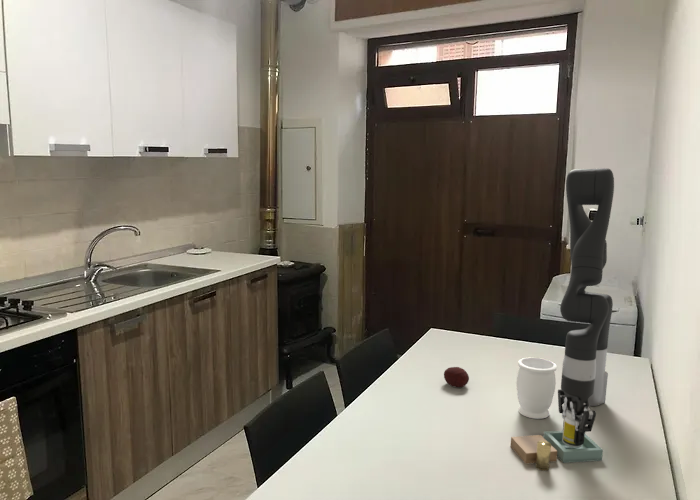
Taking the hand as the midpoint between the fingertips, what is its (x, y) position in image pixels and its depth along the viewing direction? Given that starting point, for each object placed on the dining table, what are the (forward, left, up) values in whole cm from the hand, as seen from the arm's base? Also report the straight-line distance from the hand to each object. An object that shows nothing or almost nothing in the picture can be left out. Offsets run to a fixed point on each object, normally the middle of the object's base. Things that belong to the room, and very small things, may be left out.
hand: (572, 438), depth 137 cm
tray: (0, 0, -3) cm, 3 cm away
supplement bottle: (0, 0, -2) cm, 2 cm away
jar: (0, -21, -4) cm, 21 cm away
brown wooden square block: (+10, 0, -4) cm, 11 cm away
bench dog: (+11, +7, -3) cm, 13 cm away
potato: (+16, -42, -4) cm, 45 cm away
